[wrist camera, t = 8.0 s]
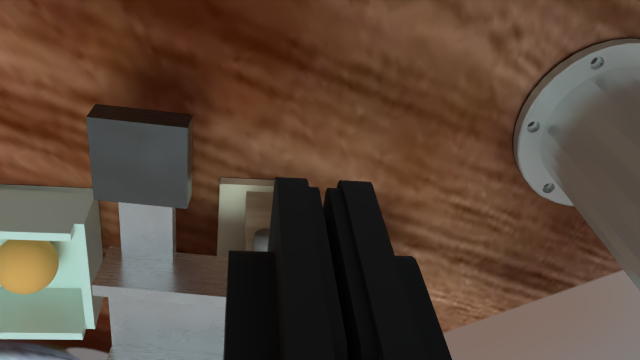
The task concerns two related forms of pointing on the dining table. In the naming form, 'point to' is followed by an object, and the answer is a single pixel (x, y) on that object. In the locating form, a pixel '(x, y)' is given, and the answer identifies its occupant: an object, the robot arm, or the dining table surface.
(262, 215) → the stand
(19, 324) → the mint green storage bin
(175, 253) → the track
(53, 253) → the ball
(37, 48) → the dining table surface
